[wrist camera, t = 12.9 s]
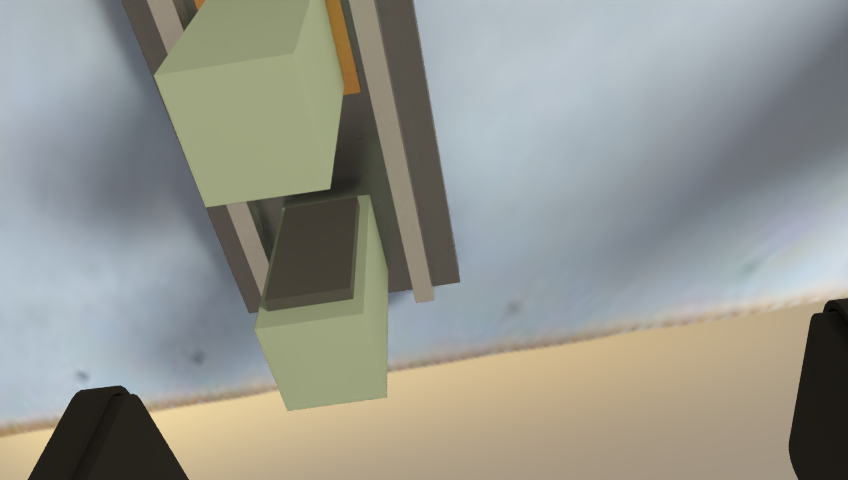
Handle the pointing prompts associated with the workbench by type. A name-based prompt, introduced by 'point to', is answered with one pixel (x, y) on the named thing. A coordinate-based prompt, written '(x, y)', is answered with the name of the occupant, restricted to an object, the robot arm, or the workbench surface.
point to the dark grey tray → (347, 146)
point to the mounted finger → (326, 305)
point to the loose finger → (255, 98)
